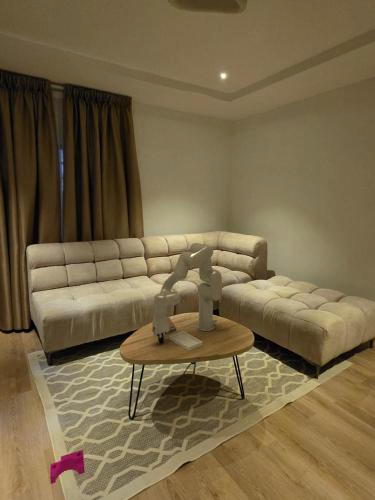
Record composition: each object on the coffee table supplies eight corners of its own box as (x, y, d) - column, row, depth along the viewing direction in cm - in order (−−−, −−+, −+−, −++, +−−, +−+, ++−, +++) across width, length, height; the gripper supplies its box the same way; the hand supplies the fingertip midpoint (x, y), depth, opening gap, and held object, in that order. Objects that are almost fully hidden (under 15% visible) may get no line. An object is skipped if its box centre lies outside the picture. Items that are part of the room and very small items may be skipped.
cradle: (182, 334, 195) (182, 330, 195) (202, 345, 181) (202, 341, 180) (168, 338, 188) (168, 335, 188) (188, 350, 174) (188, 347, 173)
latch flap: (168, 318, 204) (169, 317, 204) (174, 327, 200) (175, 326, 199) (155, 322, 197) (155, 321, 197) (161, 331, 193) (161, 330, 192)
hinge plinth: (168, 326, 207) (168, 322, 206) (176, 331, 199) (176, 326, 199) (153, 331, 199) (153, 326, 199) (161, 336, 192) (161, 331, 191)
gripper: (167, 309, 186) (167, 337, 189) (146, 315, 177) (147, 344, 180) (174, 313, 181) (174, 341, 184) (153, 319, 171) (154, 348, 174)
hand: (161, 342), depth 182 cm, fingers closed
